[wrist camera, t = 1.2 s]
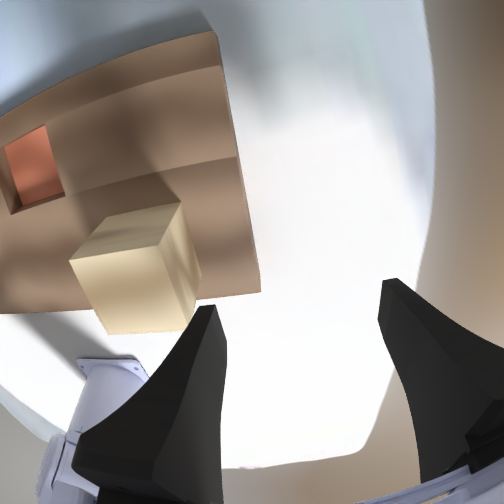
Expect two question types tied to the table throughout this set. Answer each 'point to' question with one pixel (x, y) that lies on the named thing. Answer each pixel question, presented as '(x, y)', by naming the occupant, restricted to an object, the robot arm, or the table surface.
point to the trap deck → (123, 171)
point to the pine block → (140, 271)
